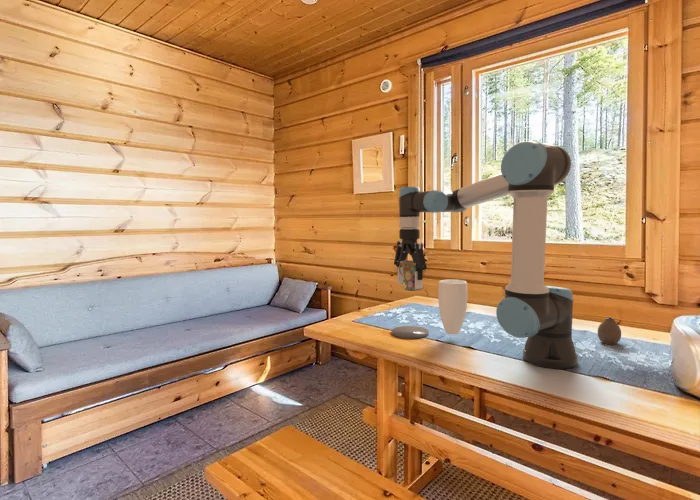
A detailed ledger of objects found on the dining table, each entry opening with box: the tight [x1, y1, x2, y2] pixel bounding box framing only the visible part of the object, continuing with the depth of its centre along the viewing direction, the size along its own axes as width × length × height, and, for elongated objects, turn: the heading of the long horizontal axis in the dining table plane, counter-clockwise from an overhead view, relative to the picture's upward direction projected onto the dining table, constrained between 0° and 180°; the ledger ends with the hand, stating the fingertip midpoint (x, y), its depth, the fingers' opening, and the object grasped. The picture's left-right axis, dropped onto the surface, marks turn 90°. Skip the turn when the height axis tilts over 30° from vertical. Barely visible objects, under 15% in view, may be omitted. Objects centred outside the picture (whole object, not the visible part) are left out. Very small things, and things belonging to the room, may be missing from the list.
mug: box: [399, 259, 425, 292], centre depth 154 cm, size 12×9×11 cm
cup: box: [437, 278, 468, 335], centre depth 146 cm, size 10×10×22 cm
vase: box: [597, 317, 622, 346], centre depth 140 cm, size 7×7×9 cm
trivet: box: [391, 325, 429, 340], centre depth 156 cm, size 14×14×1 cm
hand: (409, 286), depth 155 cm, fingers closed on mug, 11 cm apart
